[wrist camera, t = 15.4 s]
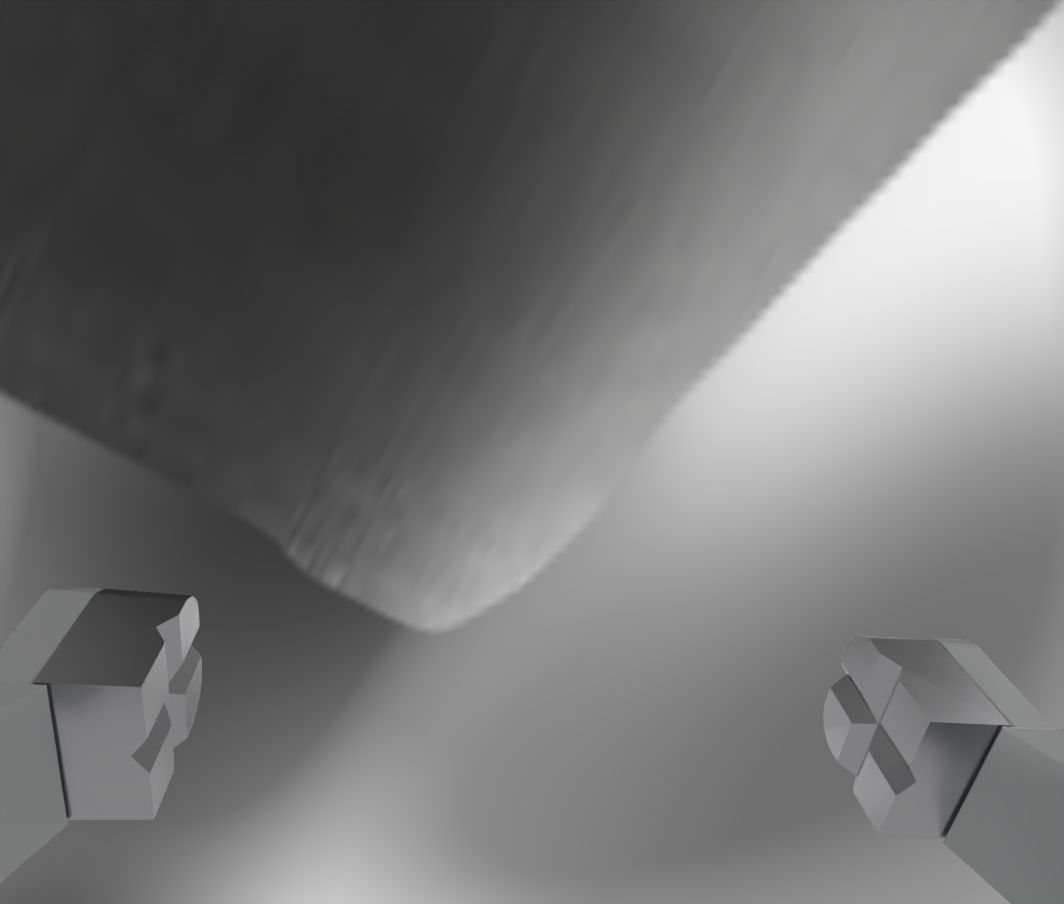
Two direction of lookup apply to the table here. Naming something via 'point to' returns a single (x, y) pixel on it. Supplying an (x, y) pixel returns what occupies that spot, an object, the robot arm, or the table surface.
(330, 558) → the table surface
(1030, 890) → the robot arm
